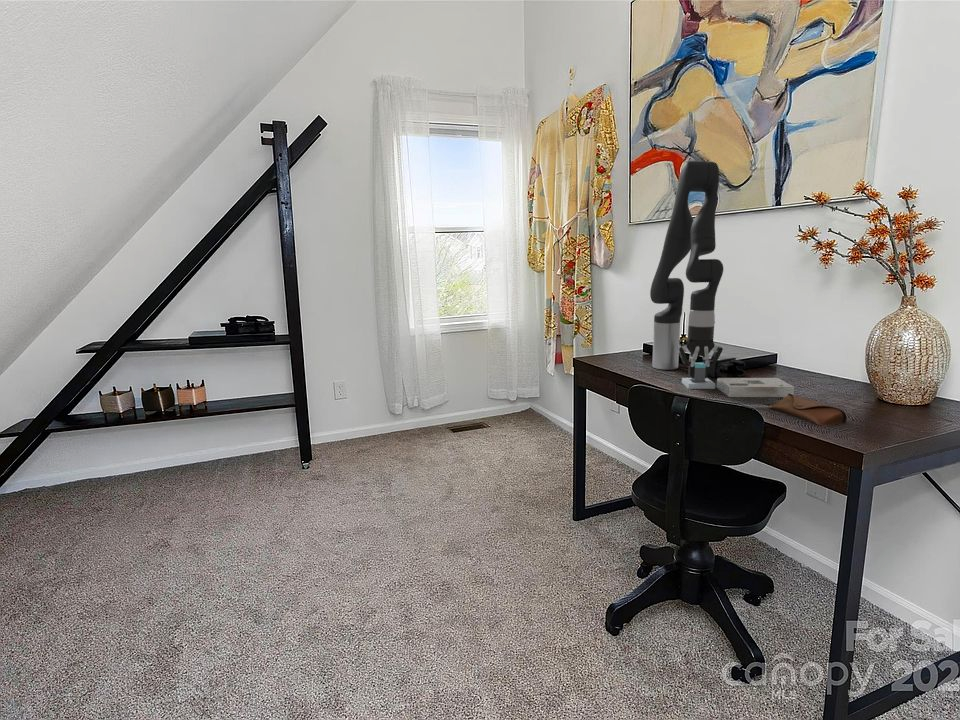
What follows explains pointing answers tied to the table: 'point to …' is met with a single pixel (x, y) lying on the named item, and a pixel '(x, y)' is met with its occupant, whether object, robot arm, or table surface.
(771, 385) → the port panel
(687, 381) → the holster
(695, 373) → the plug
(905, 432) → the table surface
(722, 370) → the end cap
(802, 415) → the sunglasses case
